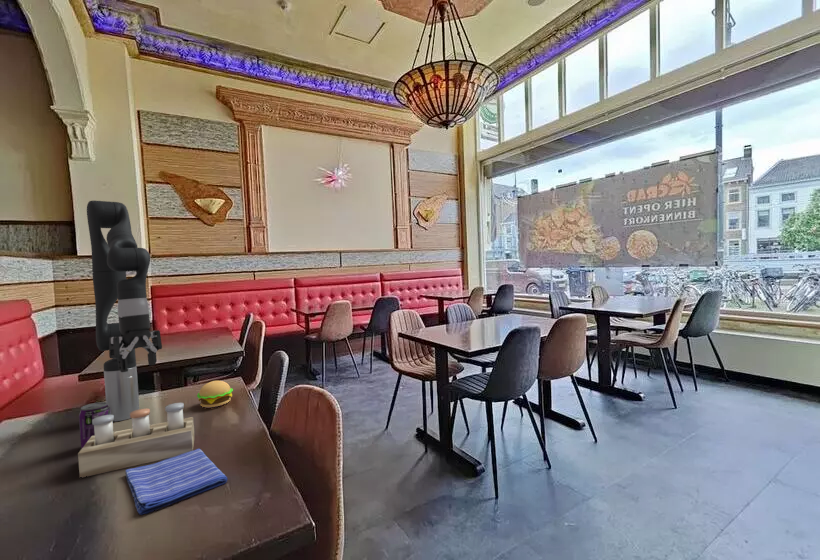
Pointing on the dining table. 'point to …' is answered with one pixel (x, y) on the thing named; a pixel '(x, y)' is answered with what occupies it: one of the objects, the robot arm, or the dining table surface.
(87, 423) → the beverage can
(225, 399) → the hamburger
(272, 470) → the dining table surface
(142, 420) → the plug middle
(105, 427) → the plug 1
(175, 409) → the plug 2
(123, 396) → the robot arm
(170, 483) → the dish towel
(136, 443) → the beech block
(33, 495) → the dining table surface
